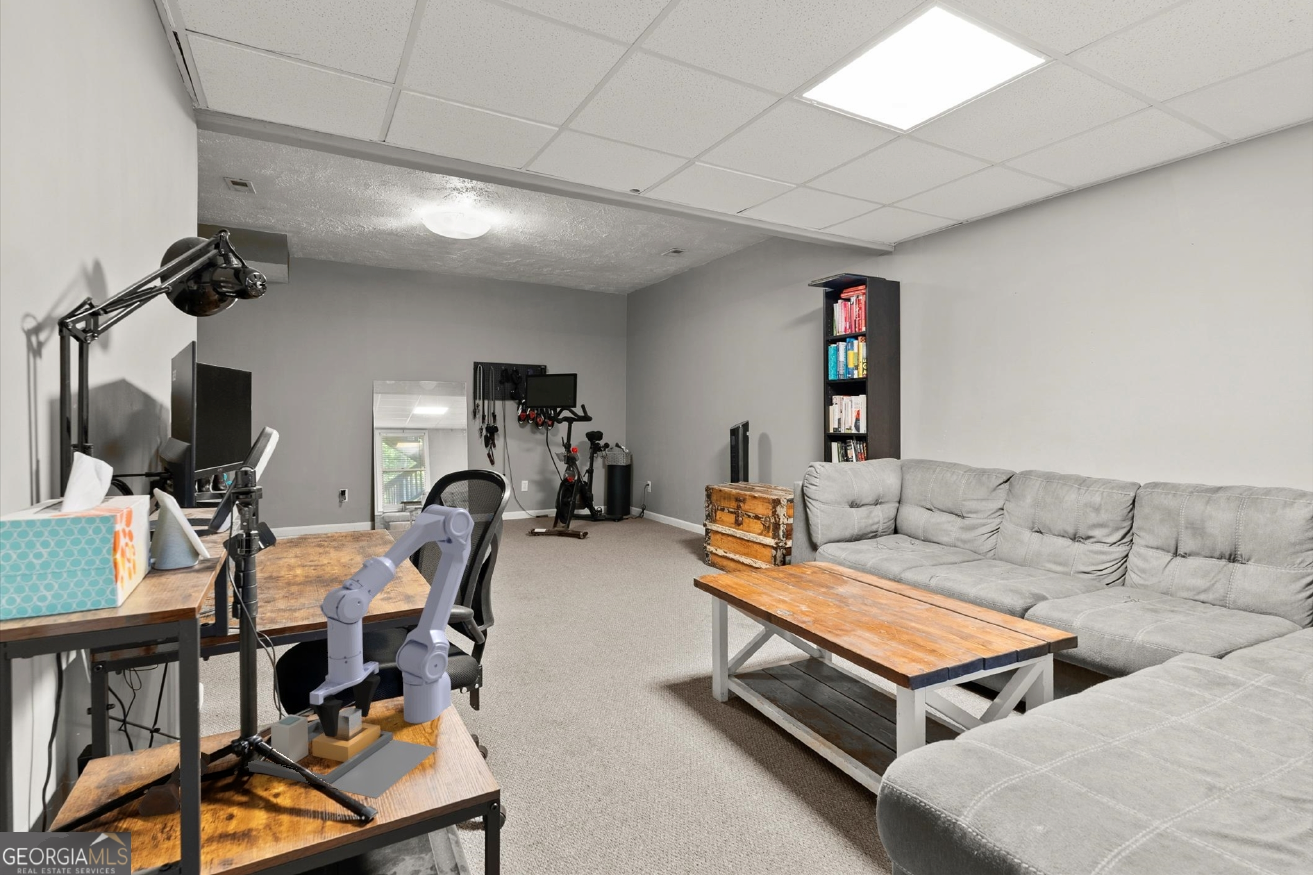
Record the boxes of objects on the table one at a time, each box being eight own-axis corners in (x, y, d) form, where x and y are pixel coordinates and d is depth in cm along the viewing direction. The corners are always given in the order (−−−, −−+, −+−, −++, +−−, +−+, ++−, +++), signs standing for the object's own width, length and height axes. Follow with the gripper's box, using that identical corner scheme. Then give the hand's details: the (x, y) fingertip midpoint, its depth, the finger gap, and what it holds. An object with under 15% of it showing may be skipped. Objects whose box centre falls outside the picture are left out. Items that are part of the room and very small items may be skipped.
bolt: (206, 778, 113) (164, 829, 98) (177, 768, 112) (130, 818, 97) (224, 748, 114) (185, 794, 99) (196, 737, 112) (152, 782, 98)
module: (291, 751, 116) (290, 713, 116) (308, 755, 115) (307, 716, 115) (271, 763, 113) (270, 723, 112) (289, 767, 111) (288, 726, 111)
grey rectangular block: (349, 743, 119) (348, 707, 119) (361, 746, 118) (361, 709, 118) (336, 751, 116) (335, 714, 116) (349, 754, 116) (348, 716, 115)
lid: (391, 745, 121) (391, 738, 121) (438, 754, 118) (438, 747, 118) (324, 793, 105) (324, 786, 105) (376, 805, 102) (376, 798, 102)
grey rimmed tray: (317, 730, 126) (317, 711, 126) (393, 745, 121) (392, 724, 120) (243, 775, 111) (243, 752, 111) (326, 793, 105) (325, 770, 105)
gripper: (357, 637, 125) (358, 704, 126) (295, 665, 111) (297, 741, 112) (387, 641, 123) (388, 710, 123) (327, 670, 109) (329, 748, 110)
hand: (347, 725), depth 117 cm, fingers open, 7 cm apart
